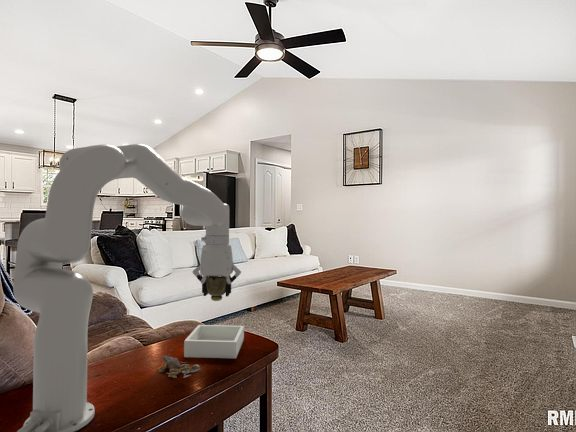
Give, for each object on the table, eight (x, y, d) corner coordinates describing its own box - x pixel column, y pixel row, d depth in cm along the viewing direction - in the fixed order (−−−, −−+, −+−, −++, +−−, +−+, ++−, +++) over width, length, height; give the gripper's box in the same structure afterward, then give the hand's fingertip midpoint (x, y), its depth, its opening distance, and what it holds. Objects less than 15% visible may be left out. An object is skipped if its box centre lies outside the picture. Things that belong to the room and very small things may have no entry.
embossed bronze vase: (230, 298, 121) (231, 274, 121) (224, 303, 113) (225, 278, 113) (209, 297, 121) (209, 273, 121) (201, 302, 114) (202, 277, 114)
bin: (236, 358, 109) (236, 342, 109) (184, 357, 109) (184, 340, 109) (243, 340, 125) (244, 325, 125) (198, 339, 125) (198, 324, 125)
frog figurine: (144, 375, 98) (144, 361, 98) (176, 360, 108) (177, 347, 108) (175, 385, 92) (175, 370, 92) (206, 368, 103) (206, 355, 103)
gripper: (187, 241, 114) (186, 297, 114) (242, 242, 113) (241, 298, 113) (194, 239, 121) (193, 292, 121) (245, 240, 121) (244, 293, 121)
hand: (216, 295), depth 117 cm, fingers closed on embossed bronze vase, 6 cm apart
